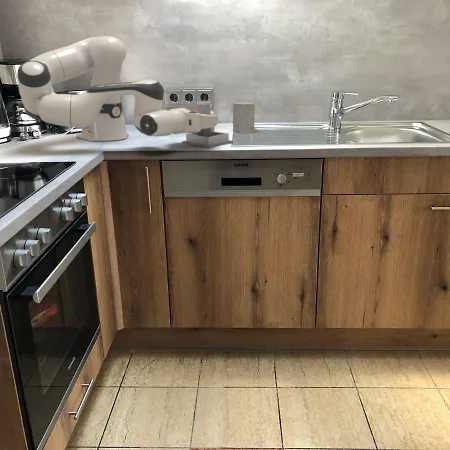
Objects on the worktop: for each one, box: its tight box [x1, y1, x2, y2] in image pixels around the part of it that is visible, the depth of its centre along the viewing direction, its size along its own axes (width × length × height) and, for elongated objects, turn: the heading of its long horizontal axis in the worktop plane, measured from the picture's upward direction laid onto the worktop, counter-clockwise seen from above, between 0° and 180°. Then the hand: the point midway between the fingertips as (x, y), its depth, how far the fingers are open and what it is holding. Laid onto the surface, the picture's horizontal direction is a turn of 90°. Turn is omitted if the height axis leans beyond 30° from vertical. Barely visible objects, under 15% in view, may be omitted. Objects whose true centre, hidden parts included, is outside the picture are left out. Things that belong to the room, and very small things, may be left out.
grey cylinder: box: [232, 101, 256, 134], centre depth 219 cm, size 10×10×12 cm
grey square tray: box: [181, 130, 234, 149], centre depth 192 cm, size 14×14×4 cm
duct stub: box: [195, 100, 212, 137], centre depth 189 cm, size 5×5×15 cm
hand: (206, 116), depth 189 cm, fingers open, 8 cm apart
